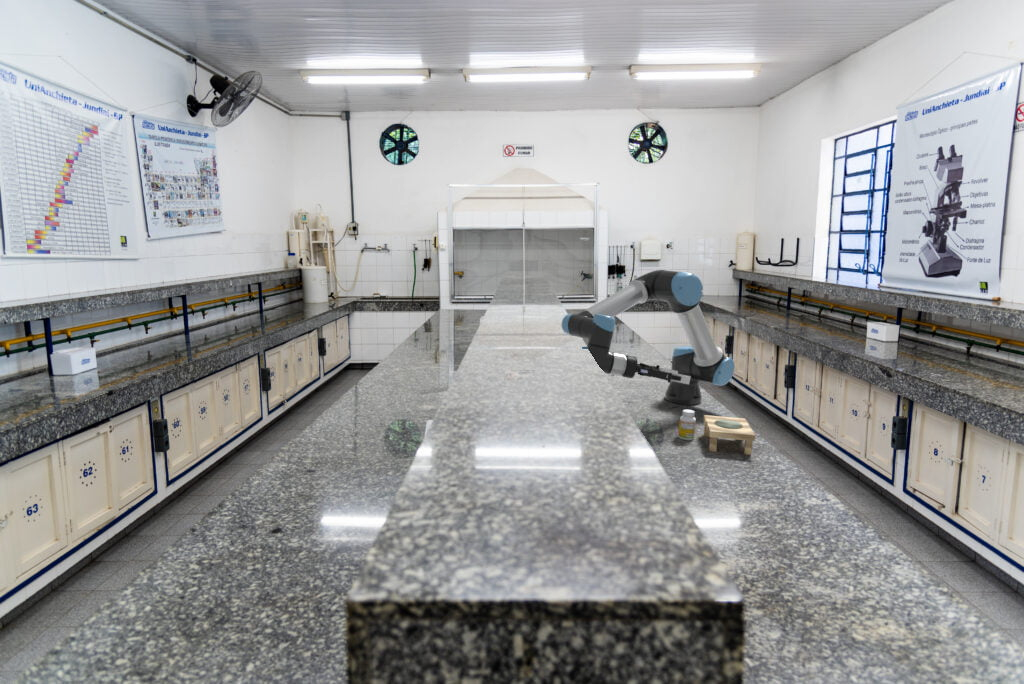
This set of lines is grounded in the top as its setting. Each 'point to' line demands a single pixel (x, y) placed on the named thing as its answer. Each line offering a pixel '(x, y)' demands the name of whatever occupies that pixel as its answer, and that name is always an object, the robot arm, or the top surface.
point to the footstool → (728, 431)
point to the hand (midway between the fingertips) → (683, 377)
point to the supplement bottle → (687, 425)
